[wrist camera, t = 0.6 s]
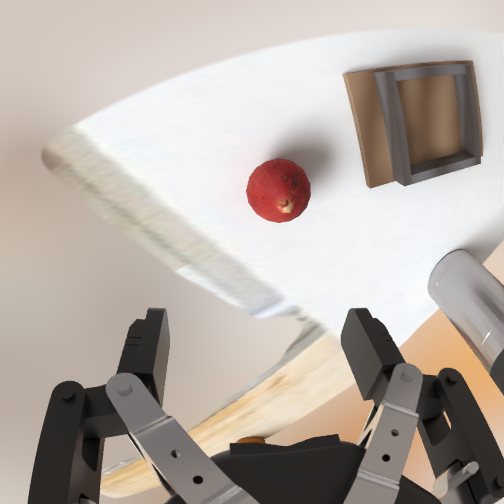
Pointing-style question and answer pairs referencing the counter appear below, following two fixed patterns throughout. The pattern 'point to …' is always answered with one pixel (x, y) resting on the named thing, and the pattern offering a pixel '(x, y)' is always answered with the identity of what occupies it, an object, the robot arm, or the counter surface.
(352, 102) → the pocket board
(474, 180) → the counter surface
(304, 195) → the onion
